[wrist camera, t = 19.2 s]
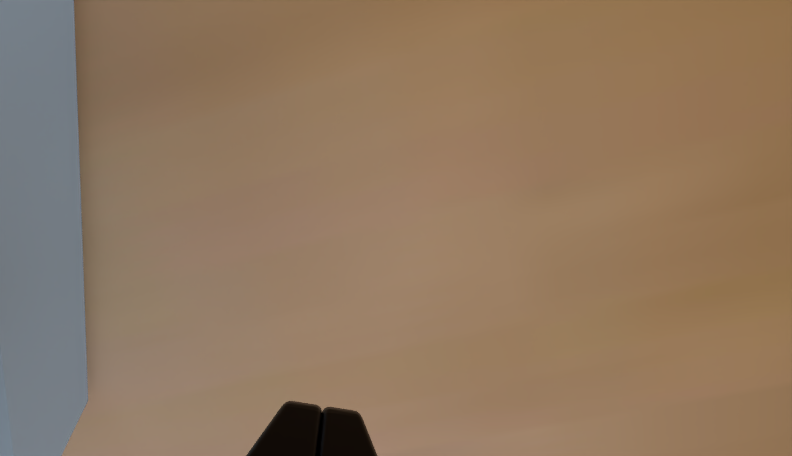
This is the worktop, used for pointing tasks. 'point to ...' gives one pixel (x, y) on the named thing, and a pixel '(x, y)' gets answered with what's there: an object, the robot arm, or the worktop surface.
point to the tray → (40, 231)
